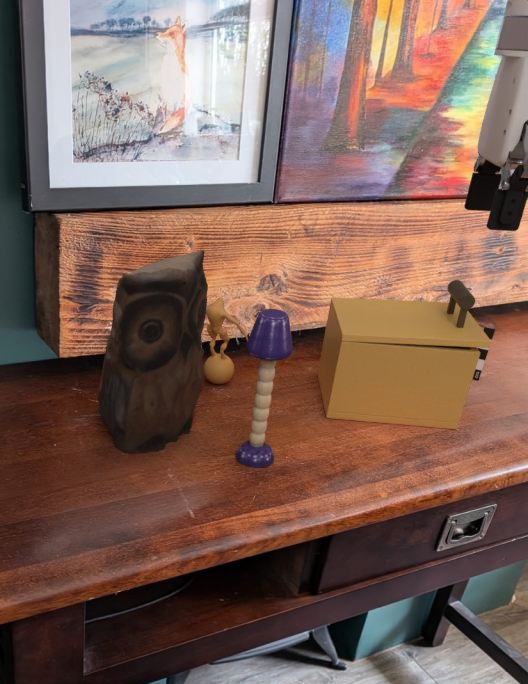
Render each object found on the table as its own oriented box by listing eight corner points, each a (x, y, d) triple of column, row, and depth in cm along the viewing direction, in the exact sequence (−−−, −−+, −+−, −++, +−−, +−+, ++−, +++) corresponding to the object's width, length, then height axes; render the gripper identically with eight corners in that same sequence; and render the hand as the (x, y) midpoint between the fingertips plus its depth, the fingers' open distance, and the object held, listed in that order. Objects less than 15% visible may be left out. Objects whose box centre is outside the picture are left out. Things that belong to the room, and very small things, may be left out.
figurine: (252, 385, 99) (263, 296, 92) (232, 401, 95) (243, 309, 88) (196, 370, 102) (204, 283, 96) (175, 385, 98) (182, 295, 91)
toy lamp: (277, 471, 80) (302, 321, 71) (234, 469, 80) (253, 319, 71) (270, 449, 84) (293, 305, 75) (229, 448, 84) (247, 303, 75)
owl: (199, 409, 92) (215, 243, 81) (208, 460, 82) (227, 278, 71) (97, 406, 92) (99, 238, 81) (93, 457, 81) (94, 272, 70)
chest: (433, 383, 102) (453, 313, 97) (456, 429, 91) (480, 352, 85) (317, 374, 103) (330, 303, 98) (326, 418, 92) (341, 341, 86)
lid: (460, 308, 96) (469, 271, 93) (489, 348, 85) (501, 306, 82) (330, 303, 98) (335, 266, 95) (341, 341, 86) (348, 300, 84)
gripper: (612, 43, 67) (549, 240, 76) (547, 39, 81) (501, 205, 91) (526, 41, 67) (474, 236, 77) (476, 36, 82) (438, 202, 91)
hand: (489, 219), depth 84 cm, fingers open, 9 cm apart
